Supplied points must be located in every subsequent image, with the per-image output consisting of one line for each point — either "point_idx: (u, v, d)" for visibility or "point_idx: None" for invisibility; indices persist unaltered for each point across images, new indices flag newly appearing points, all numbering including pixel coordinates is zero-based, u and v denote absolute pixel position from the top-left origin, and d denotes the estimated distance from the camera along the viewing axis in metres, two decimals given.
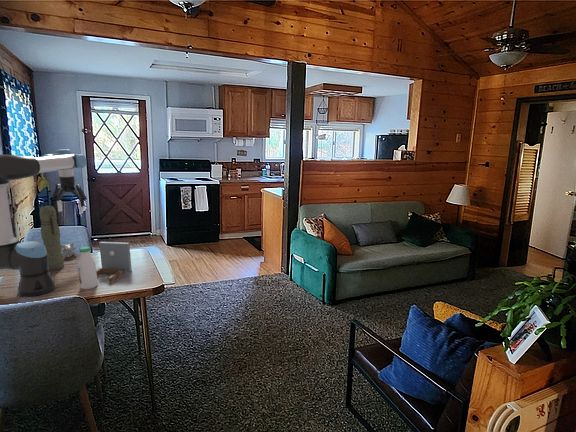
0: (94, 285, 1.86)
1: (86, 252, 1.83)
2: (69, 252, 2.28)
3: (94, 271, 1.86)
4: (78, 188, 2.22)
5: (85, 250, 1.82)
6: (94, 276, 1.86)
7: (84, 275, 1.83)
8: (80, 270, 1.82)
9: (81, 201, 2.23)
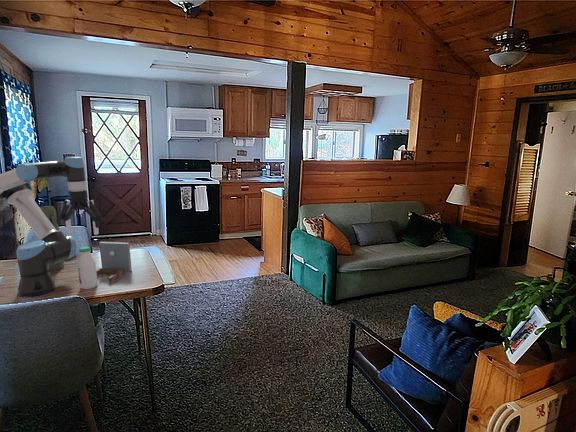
0: (94, 285, 1.86)
1: (86, 252, 1.83)
2: None
3: (94, 271, 1.86)
4: (92, 205, 1.78)
5: (85, 250, 1.82)
6: (94, 276, 1.86)
7: (84, 275, 1.83)
8: (80, 270, 1.82)
9: (96, 221, 1.80)
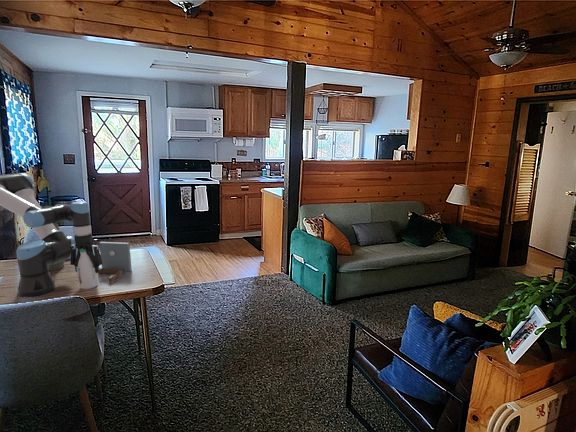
0: (94, 285, 1.86)
1: None
2: None
3: None
4: (96, 251, 1.82)
5: (85, 250, 1.82)
6: None
7: (84, 275, 1.83)
8: (80, 270, 1.82)
9: None
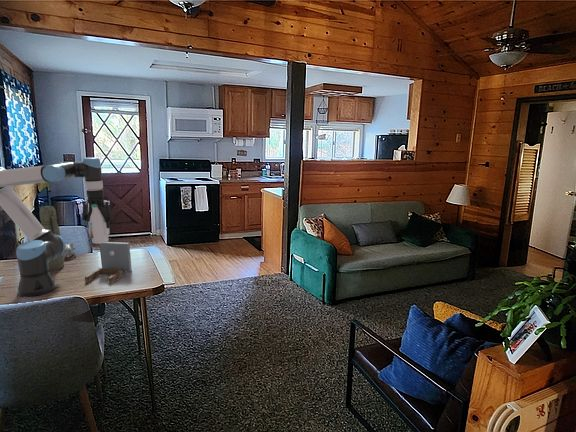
0: (105, 240, 1.91)
1: None
2: (69, 252, 2.28)
3: None
4: (107, 206, 1.87)
5: (97, 205, 1.87)
6: None
7: (96, 230, 1.88)
8: (92, 225, 1.88)
9: (106, 222, 1.90)
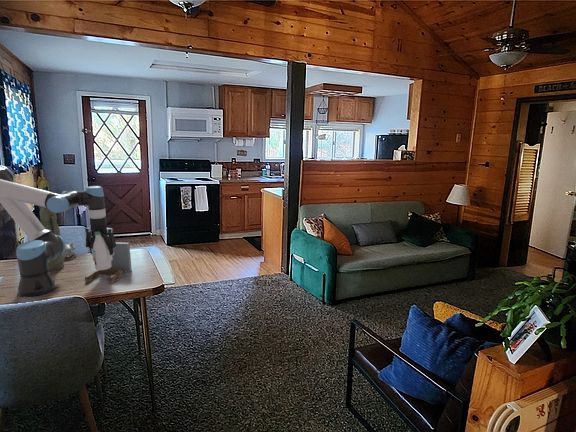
0: (108, 266, 1.94)
1: None
2: (69, 252, 2.28)
3: None
4: (110, 233, 1.91)
5: (100, 233, 1.90)
6: None
7: (99, 257, 1.91)
8: (95, 252, 1.91)
9: (109, 249, 1.93)
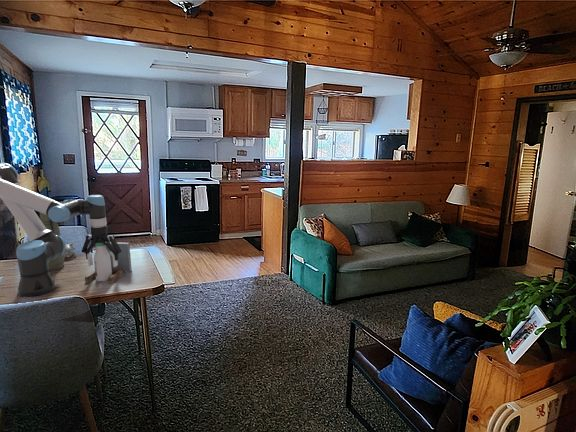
0: None
1: (102, 246, 1.92)
2: (69, 252, 2.28)
3: (109, 264, 1.95)
4: (112, 240, 1.91)
5: (101, 244, 1.92)
6: (109, 269, 1.95)
7: (100, 268, 1.92)
8: (96, 263, 1.92)
9: None
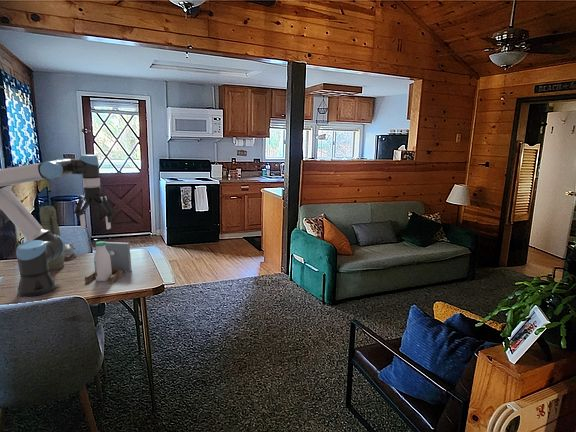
0: None
1: (102, 246, 1.92)
2: (69, 252, 2.28)
3: (109, 264, 1.95)
4: (105, 201, 1.87)
5: (101, 244, 1.92)
6: (109, 269, 1.95)
7: (100, 268, 1.92)
8: (96, 263, 1.92)
9: (108, 216, 1.89)
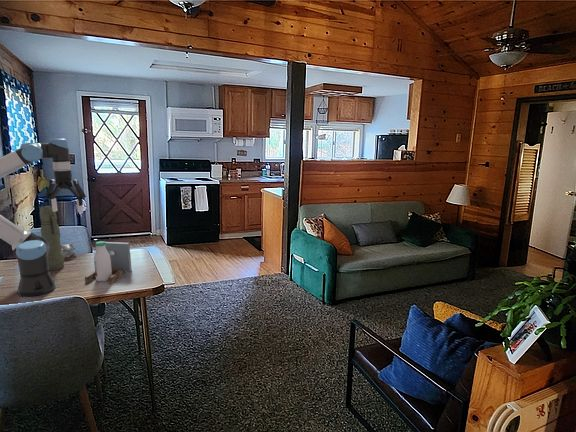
0: None
1: (102, 246, 1.92)
2: (69, 252, 2.28)
3: (109, 264, 1.95)
4: (76, 184, 1.90)
5: (101, 244, 1.92)
6: (109, 269, 1.95)
7: (100, 268, 1.92)
8: (96, 263, 1.92)
9: None
